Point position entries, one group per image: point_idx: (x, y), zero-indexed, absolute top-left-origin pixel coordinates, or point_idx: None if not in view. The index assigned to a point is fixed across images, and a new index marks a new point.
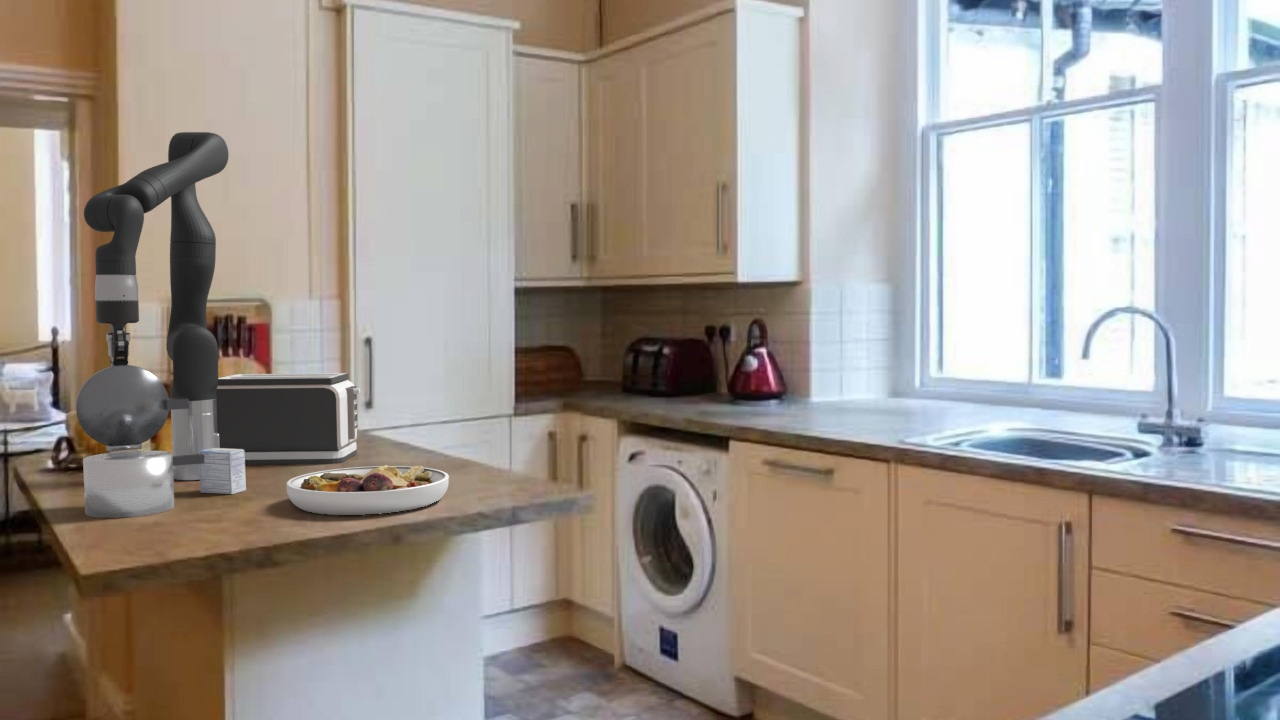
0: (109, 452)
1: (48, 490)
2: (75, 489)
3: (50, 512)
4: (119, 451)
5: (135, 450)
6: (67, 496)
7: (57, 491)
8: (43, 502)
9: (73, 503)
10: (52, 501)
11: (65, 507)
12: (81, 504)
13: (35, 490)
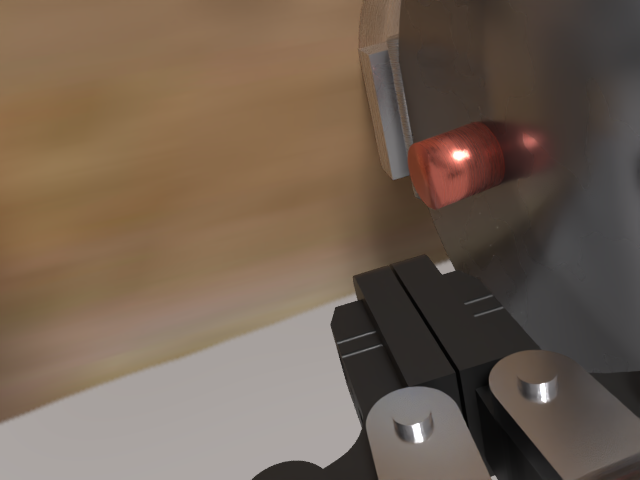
0: (394, 178)
1: (14, 383)
2: (6, 308)
3: (433, 263)
4: (395, 137)
5: (388, 64)
6: (157, 293)
7: (42, 351)
8: (253, 329)
9: (301, 240)
10: (243, 310)
11: (366, 245)
12: (329, 212)
13: (7, 419)
